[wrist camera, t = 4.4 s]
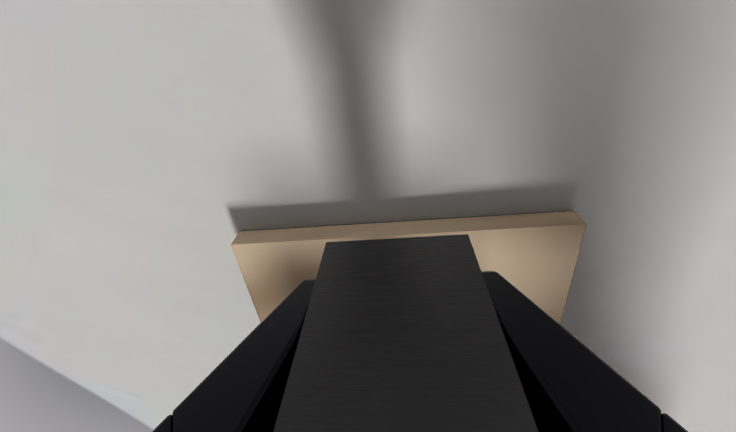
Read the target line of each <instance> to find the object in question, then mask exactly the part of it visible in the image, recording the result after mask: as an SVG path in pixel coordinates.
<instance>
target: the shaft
mask: <svg viewBox="0 0 736 432" xmlns="http://www.w3.org/2000/svg"><path fill="white" fill-rule="evenodd" d="M273 432H538V429H537V426H536V423H535V421H534V418H533V415H532V412H531V409H530V407H529V404H528V401H527V398H526V395H525V393H524V390H523V387H522V384H521V381H520V379H519V376H518V373H517V370H516V367H515V364H514V362H513V359H512V356H511V353H510V350H509V348H508V345H507V342H506V339H505V336H504V334H503V331H502V328H501V325H500V322H499V320H498V317H497V314H496V311H495V308H494V306H493V303H492V300H491V297H490V294H489V292H488V289H487V286H486V283H485V280H484V278H483V275H482V272H481V269H480V266H479V264H478V261H477V258H476V255H475V252H474V249H473V247H472V244H471V241H470V238H469V235H468V234H462V235H444V236H426V237H409V238H391V239H373V240H356V241H338V242H326V245H325V248H324V252H323V255H322V259H321V263H320V266H319V270H318V273H317V277H316V280H315V284H314V288H313V291H312V295H311V298H310V302H309V306H308V309H307V313H306V316H305V320H304V323H303V327H302V331H301V334H300V338H299V341H298V345H297V349H296V352H295V356H294V359H293V363H292V366H291V370H290V374H289V377H288V381H287V384H286V388H285V392H284V395H283V399H282V402H281V406H280V409H279V413H278V417H277V420H276V424H275V427H274V431H273Z"/></svg>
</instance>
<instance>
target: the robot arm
mask: <svg viewBox="0 0 736 432" xmlns="http://www.w3.org/2000/svg"><path fill="white" fill-rule="evenodd" d="M481 272H482V275H483V278H484V280H485V283H486V286H487V289H488V292H489V294H490V297H491V300H492V303H493V306H494V308H495V311H496V314H497V317H498V320H499V322H500V325H501V328H502V331H503V334H504V336H505V339H506V342H507V345H508V348H509V350H510V353H511V356H512V359H513V362H514V364H515V367H516V370H517V373H518V376H519V379H520V381H521V384H522V387H523V390H524V393H525V395H526V398H527V401H528V404H529V407H530V409H531V412H532V415H533V418H534V421H535V423H536V426H537V429H538V432H688V431H687V430H685V429H684V428H683V427H682V426H681V425H679V424H678V423H677V422H676V421H675V420H673V419H672V418H671V417H670V416H669V415H667V414H665V413H663V414H661V410H660V408H659V407H658V406H656V405H655V404H654V403H653V402H652V401H650V400H649V399H648V398H647V397H646V396H644V395H643V394H642V393H641V392H640V391H638V390H637V389H636V388H635V387H634V386H632V385H631V384H630V383H629V382H628V381H627V380H625V379H624V378H623V377H622V376H621V375H619V374H618V373H617V372H616V371H615V370H613V369H612V368H611V367H610V366H609V365H607V364H606V363H605V362H604V361H603V360H601V359H600V358H599V357H598V356H597V355H595V354H594V353H593V352H592V351H591V350H590V349H588V348H587V347H586V346H585V345H584V344H582V343H581V342H580V341H579V340H578V339H576V338H575V337H574V336H573V335H572V334H570V333H569V332H568V331H567V330H566V329H564V328H563V327H562V326H561V325H560V324H558V323H557V322H556V321H555V320H554V319H553V318H551V317H550V316H549V315H548V314H547V313H545V312H544V311H543V310H542V309H541V308H539V307H538V306H537V305H536V304H535V303H533V302H532V301H531V300H530V299H529V298H527V297H526V296H525V295H524V294H523V293H521V292H520V291H519V290H518V289H517V288H515V287H514V286H513V285H512V284H511V283H510V282H508V281H507V280H506V279H505V278H504V277H502V276H501V275H500V274H499V273H497V272H495V271H481ZM315 280H316V279H306V280H304V281H302V282H301V283H300V284H299V285H298V286H297V287H296V288H295V289H294V290H293V291H292V292H291V293H290V294H289V295H288V296H287V297H286V298H285V299H284V300H283V301H282V302H281V303H280V304H279V305H278V306H277V307H276V308H275V309H274V310H273V311H272V312H271V313H270V314H269V315H268V316H267V317H266V318H265V319H264V320H263V321H262V322H261V323H260V324H259V325H258V326H257V327H256V328H255V329H254V330H253V331H252V332H251V333H250V334H249V335H248V336H247V337H246V338H245V339H244V340H243V341H242V342H241V343H240V344H239V345H238V346H237V347H236V348H235V349H234V350H233V351H232V352H231V353H230V354H229V355H228V356H227V357H226V358H225V359H224V360H223V361H222V362H221V363H220V364H219V365H218V366H217V367H216V368H215V369H214V370H213V371H212V372H211V373H210V374H209V375H208V376H207V377H206V378H205V379H204V380H203V381H202V382H201V383H200V384H199V385H198V386H197V387H196V388H195V389H194V391H193V392H192V393H191V394H190V395H189V396H188V397H187V398H186V399H185V400H184V401H183V402H182V403H181V404H180V405H179V406H178V407H177V408H176V409H175V410H174V411H173V415H169V416H167V417H166V418H165V419H164V420H163V421H162V422H161V423H160V424H159V425H158V426H157V427H156V428H155V429H154V430H153V431H152V432H273V431H274V427H275V424H276V420H277V417H278V413H279V409H280V406H281V402H282V399H283V395H284V392H285V388H286V384H287V381H288V377H289V374H290V370H291V366H292V363H293V359H294V356H295V352H296V349H297V345H298V341H299V338H300V334H301V331H302V327H303V323H304V320H305V316H306V313H307V309H308V306H309V302H310V298H311V295H312V291H313V288H314V284H315Z"/></svg>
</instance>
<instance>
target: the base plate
mask: <svg viewBox="0 0 736 432" xmlns="http://www.w3.org/2000/svg"><path fill="white" fill-rule="evenodd" d="M585 227H586V223H585V222H584V221H583V220H582V219H581V218H580V217H579V216H578V215H577V214H576V213H575V212H574V211H565V212H549V213H533V214H516V215H500V216H484V217H467V218H451V219H435V220H419V221H402V222H386V223H370V224H353V225H337V226H321V227H305V228H288V229H272V230H256V231H240V232H239V234H238V235H237V236H236V238H235V239H234V241H233V242H232V244H231V247H232V249H233V252H234V254H235V257H236V260H237V262H238V265H239V267H240V270H241V273H242V275H243V278H244V280H245V283H246V286H247V288H248V291H249V293H250V296H251V298H252V301H253V304H254V306H255V309H256V311H257V314H258V317H259V319H260V322H262V321H263V320H264V319H265V318H266V317H267V316H268V315H269V314H270V313H271V312H272V311H273V310H274V309H275V308H276V307H277V306H278V305H279V304H280V303H281V302H282V301H283V300H284V299H285V298H286V297H287V296H288V295H289V294H290V293H291V292H292V291H293V290H294V289H295V288H296V287H297V286H298V285H299V284H300V283H301V282H302V281H304V280H306V279H316V277H317V273H318V270H319V266H320V263H321V259H322V255H323V252H324V248H325V245H326V242H338V241H356V240H373V239H391V238H409V237H426V236H444V235H462V234H468V235H469V238H470V241H471V244H472V247H473V249H474V252H475V255H476V258H477V261H478V264H479V266H480V269H481V271H495V272H497V273H499V274H500V275H501V276H502V277H504V278H505V279H506V280H507V281H508V282H510V283H511V284H512V285H513V286H514V287H515V288H517V289H518V290H519V291H520V292H521V293H523V294H524V295H525V296H526V297H527V298H529V299H530V300H531V301H532V302H533V303H535V304H536V305H537V306H538V307H539V308H541V309H542V310H543V311H544V312H545V313H547V314H548V315H549V316H550V317H551V318H553V319H554V320H555V321H556V322H557V323H558V324H560V322H561V319H562V315H563V311H564V307H565V303H566V300H567V296H568V292H569V288H570V284H571V281H572V277H573V273H574V269H575V265H576V262H577V258H578V254H579V250H580V246H581V242H582V239H583V235H584V231H585Z"/></svg>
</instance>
